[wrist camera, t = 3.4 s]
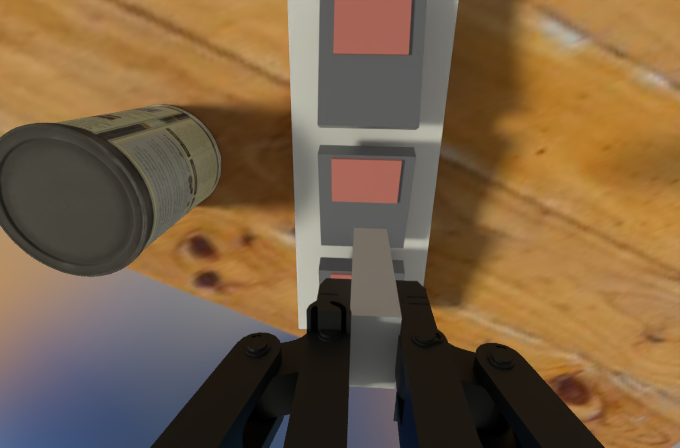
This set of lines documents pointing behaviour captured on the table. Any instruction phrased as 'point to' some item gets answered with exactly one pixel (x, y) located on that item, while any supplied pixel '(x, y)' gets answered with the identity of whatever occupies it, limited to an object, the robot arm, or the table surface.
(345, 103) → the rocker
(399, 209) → the rocker
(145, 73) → the table surface
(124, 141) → the coffee can
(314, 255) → the power strip
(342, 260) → the rocker
